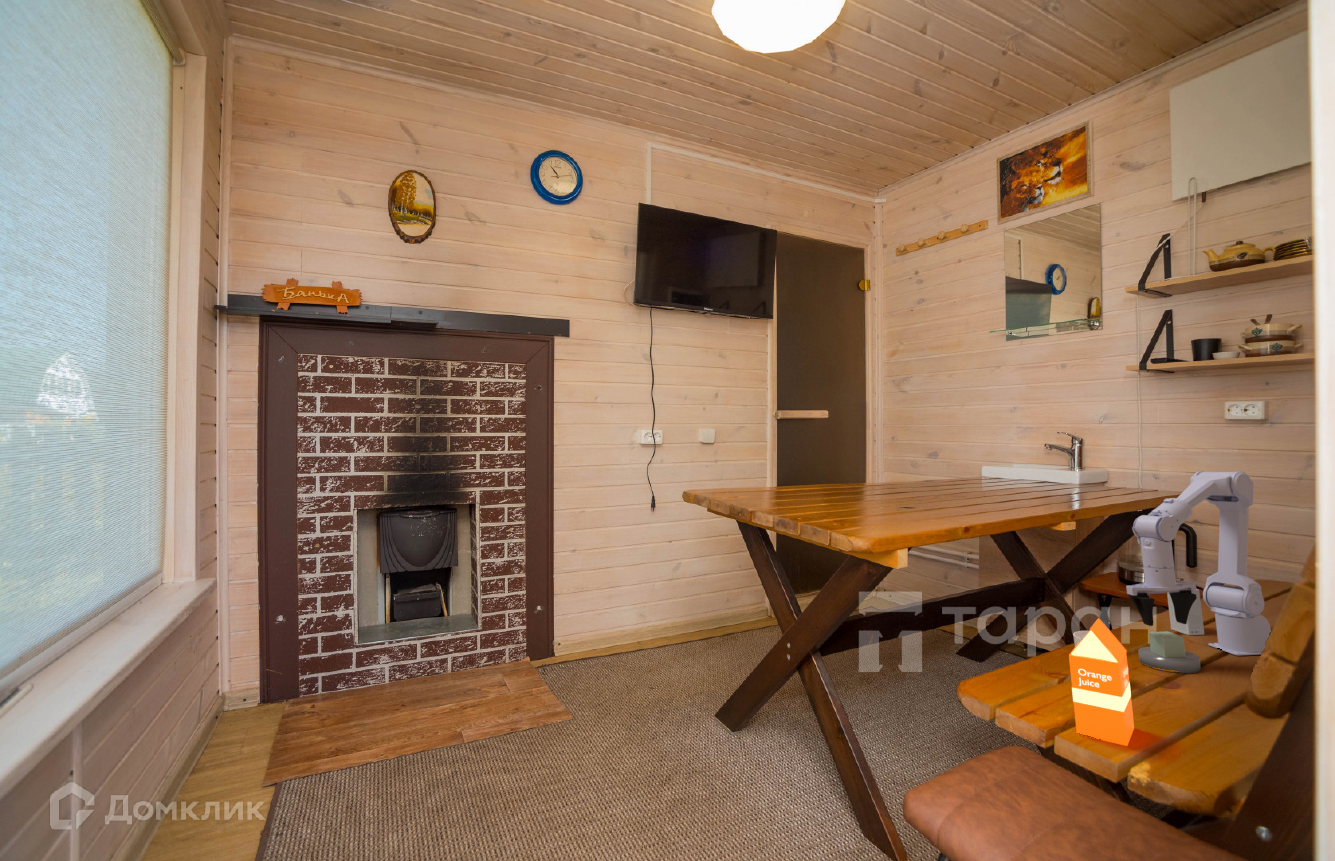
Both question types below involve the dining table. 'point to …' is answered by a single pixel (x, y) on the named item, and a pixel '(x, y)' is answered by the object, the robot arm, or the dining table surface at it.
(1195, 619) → the skincare box
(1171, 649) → the green cube
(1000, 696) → the dining table surface
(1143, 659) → the charcoal base
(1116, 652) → the orange juice
